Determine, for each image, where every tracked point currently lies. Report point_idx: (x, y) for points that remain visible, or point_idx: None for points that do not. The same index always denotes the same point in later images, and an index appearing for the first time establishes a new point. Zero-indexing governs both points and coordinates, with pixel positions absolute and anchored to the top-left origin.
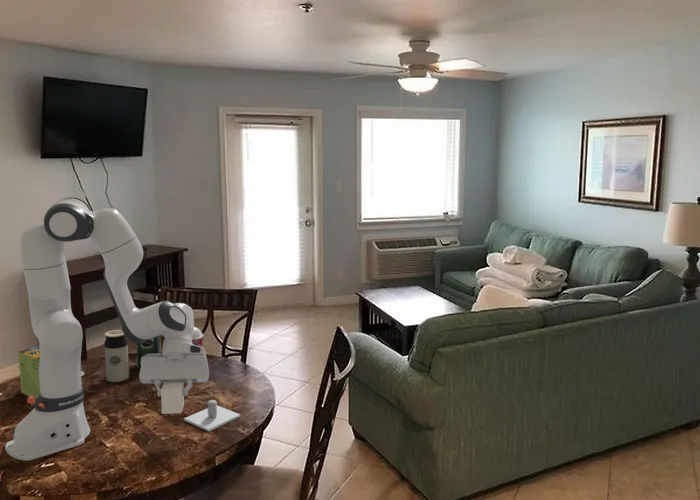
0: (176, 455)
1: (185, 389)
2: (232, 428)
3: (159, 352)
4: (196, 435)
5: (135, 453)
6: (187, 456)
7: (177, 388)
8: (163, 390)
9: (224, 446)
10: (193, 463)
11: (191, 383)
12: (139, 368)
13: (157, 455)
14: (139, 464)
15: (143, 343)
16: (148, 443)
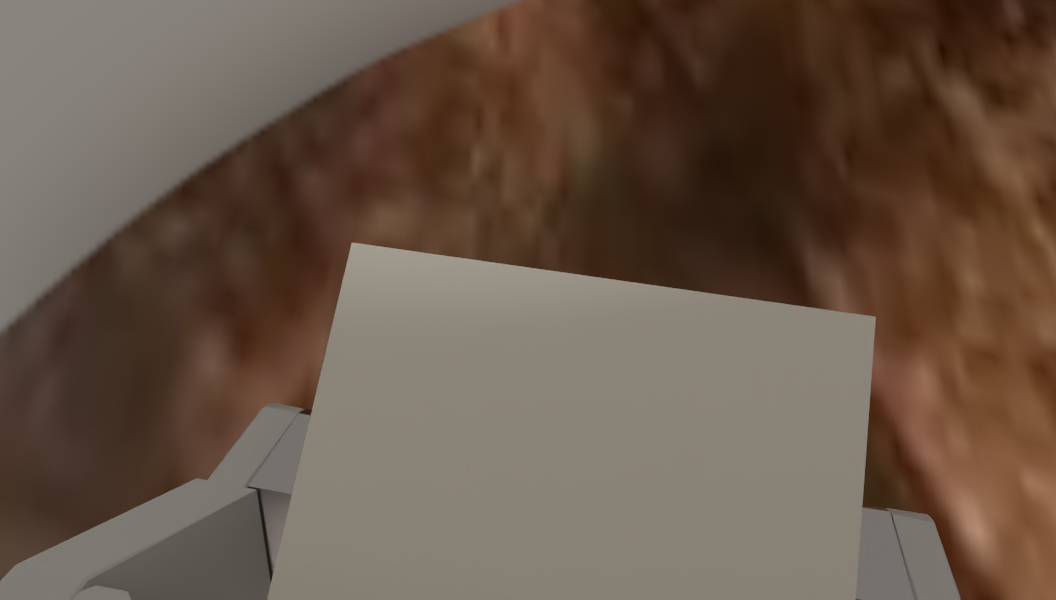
0: (565, 188)
1: (262, 470)
2: (12, 563)
3: None
4: None
5: (925, 313)
6: (478, 150)
7: (438, 294)
8: (805, 311)
9: (167, 233)
10: (442, 39)
11: (34, 583)
12: None
13: (724, 228)
14: (862, 122)
15: None
16: None
